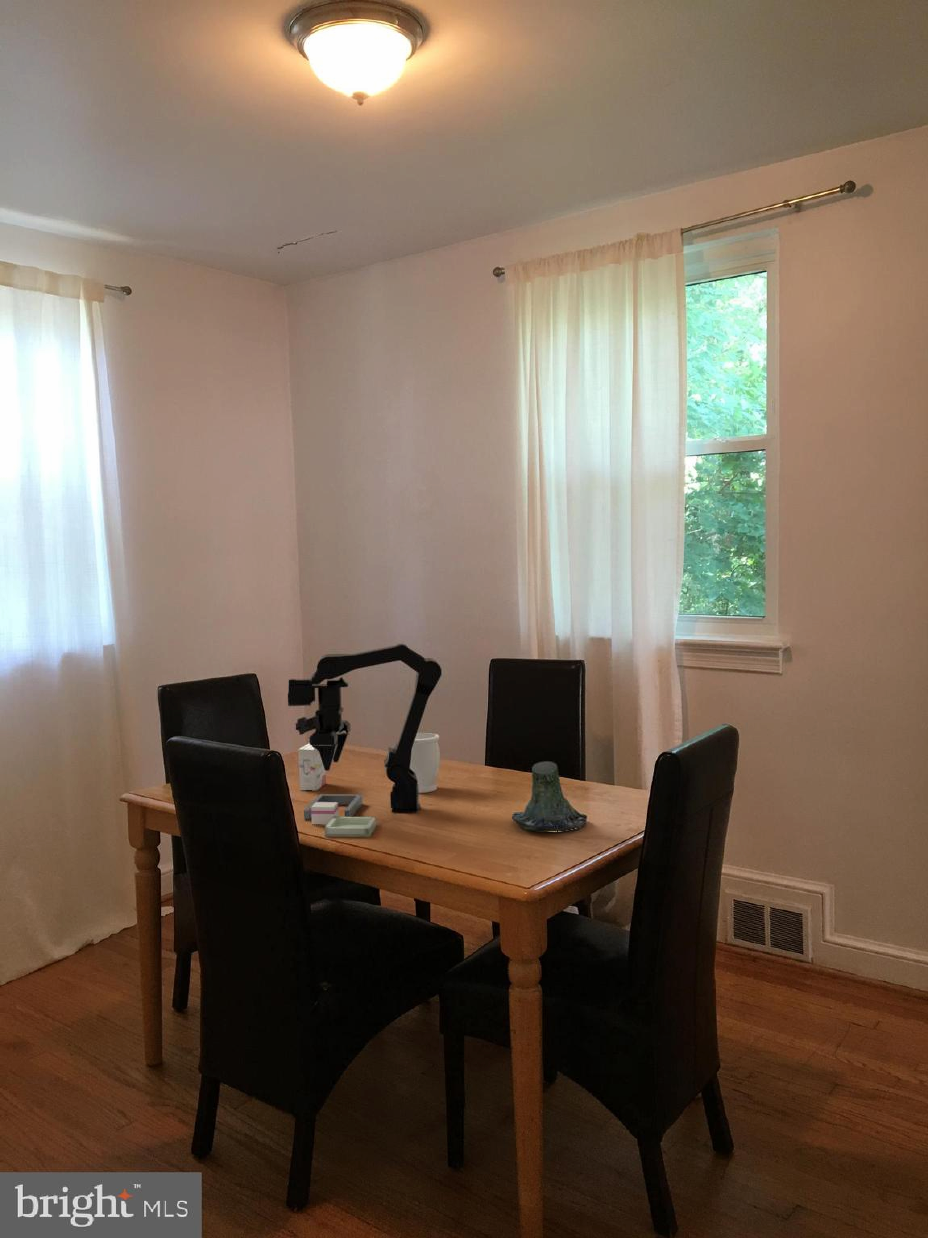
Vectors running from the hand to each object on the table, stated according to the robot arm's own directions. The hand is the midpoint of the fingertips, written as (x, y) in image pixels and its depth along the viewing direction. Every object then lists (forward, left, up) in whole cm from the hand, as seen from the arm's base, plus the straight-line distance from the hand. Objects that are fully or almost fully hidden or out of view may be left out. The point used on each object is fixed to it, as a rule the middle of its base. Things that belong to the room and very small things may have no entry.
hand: (331, 766), depth 246 cm
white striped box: (0, +8, -12) cm, 15 cm away
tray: (-8, +15, -12) cm, 21 cm away
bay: (0, -1, -12) cm, 12 cm away
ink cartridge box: (+12, -26, -12) cm, 31 cm away
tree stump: (-55, +8, -12) cm, 57 cm away
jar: (-19, -24, -12) cm, 33 cm away
